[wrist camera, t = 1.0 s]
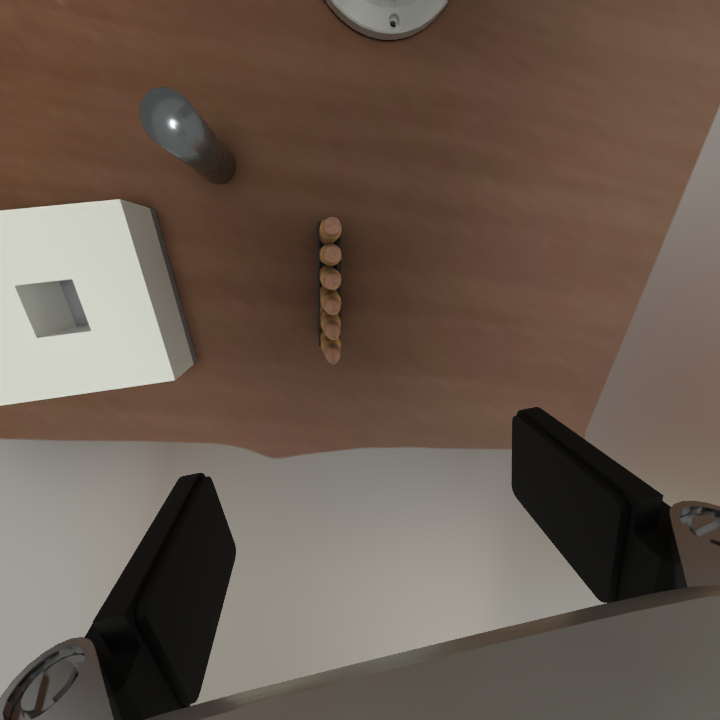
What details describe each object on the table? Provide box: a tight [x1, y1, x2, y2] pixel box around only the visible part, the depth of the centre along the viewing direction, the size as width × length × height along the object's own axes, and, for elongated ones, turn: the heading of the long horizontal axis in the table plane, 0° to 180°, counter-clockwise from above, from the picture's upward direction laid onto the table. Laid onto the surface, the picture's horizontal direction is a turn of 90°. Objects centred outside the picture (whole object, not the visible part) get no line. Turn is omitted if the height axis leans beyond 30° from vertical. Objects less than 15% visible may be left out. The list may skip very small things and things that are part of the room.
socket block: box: [0, 199, 197, 406], centre depth 28 cm, size 14×14×6 cm
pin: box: [140, 87, 235, 184], centre depth 24 cm, size 3×3×10 cm
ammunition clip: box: [317, 217, 342, 364], centre depth 27 cm, size 11×2×12 cm, turn 179°
